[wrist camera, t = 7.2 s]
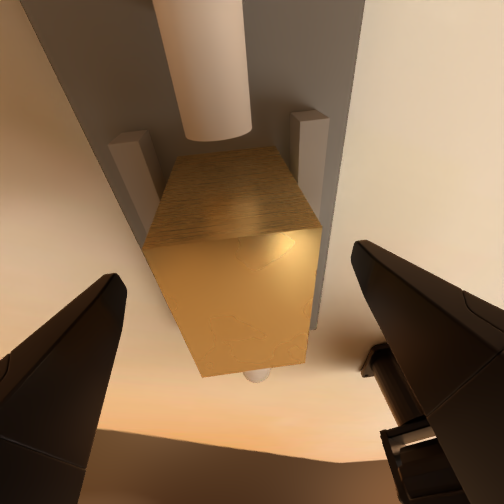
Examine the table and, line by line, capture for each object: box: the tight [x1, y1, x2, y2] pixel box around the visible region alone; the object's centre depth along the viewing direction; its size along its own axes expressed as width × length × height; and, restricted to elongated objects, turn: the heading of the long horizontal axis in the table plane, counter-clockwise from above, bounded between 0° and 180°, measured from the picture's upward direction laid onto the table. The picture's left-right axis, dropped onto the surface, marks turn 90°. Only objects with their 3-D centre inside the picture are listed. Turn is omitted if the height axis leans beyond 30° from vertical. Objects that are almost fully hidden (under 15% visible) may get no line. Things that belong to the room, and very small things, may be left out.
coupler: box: [142, 146, 322, 378], centre depth 10 cm, size 6×4×6 cm, turn 4°
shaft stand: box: [20, 0, 365, 383], centre depth 11 cm, size 22×10×5 cm, turn 5°
